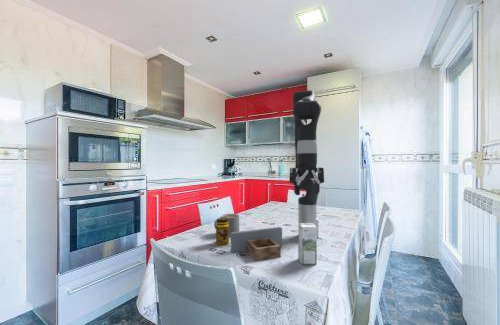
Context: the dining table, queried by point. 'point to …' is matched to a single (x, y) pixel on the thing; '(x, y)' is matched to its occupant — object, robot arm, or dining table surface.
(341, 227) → the dining table surface
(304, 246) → the syrup box
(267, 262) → the dining table surface
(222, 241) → the condiment
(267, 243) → the socket block
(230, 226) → the coffee mug
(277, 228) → the backstop wall
